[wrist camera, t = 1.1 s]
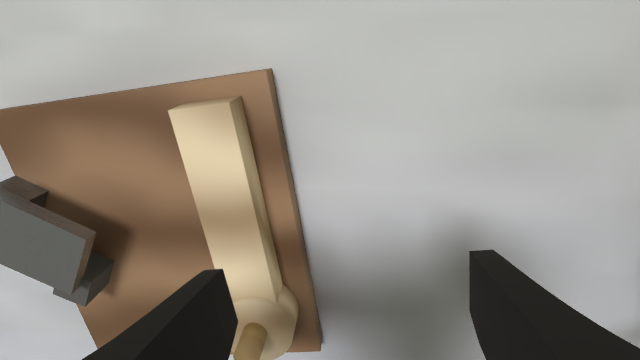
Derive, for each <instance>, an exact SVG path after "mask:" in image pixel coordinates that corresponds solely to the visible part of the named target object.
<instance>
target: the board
mask: <svg viewBox="0 0 640 360" xmlns="http://www.w3.org/2000/svg"><path fill="white" fill-rule="evenodd" d="M235 96H241V99H242V104H243V108H244V113H245V117H246V122H247V126H248V131H249V135H250V140H251V144H252V149H253V153H254V158H255V162H256V167H257V171H258V176H259V180H260V185H261V189H262V193H263V198H264V202H265V207H266V211H267V216H268V220H269V225H270V229H271V234H272V238H273V243H274V247H275V252H276V256H277V261H278V265H279V270H280V274H281V279H282V283H283V284H284V285H285V286H287V287H288V288H289V289H290V290H291V291H292V292H293V294H294V295H295V297H296V299H297V302H298V306H299V312H298V317H297V322H296V326H295V331H294V335H293V340H292V344H291V346H290V348H289V349H288V350H287V352H311V351H321V343H322V334H321V328H320V323H319V318H318V312H317V307H316V302H315V297H314V291H313V286H312V281H311V275H310V270H309V265H308V259H307V254H306V249H305V243H304V238H303V233H302V228H301V222H300V217H299V212H298V206H297V201H296V196H295V190H294V185H293V180H292V174H291V169H290V164H289V159H288V153H287V148H286V143H285V137H284V132H283V127H282V121H281V116H280V111H279V105H278V100H277V95H276V90H275V84H274V79H273V74H272V68H270V69H264V70H257V71H250V72H244V73H237V74H231V75H224V76H217V77H211V78H204V79H197V80H191V81H184V82H178V83H171V84H164V85H158V86H151V87H144V88H138V89H131V90H124V91H118V92H111V93H105V94H98V95H91V96H85V97H78V98H71V99H65V100H58V101H52V102H45V103H38V104H32V105H25V106H18V107H12V108H5V109H0V145H1V147H2V149H3V151H4V153H5V155H6V157H7V159H8V161H9V163H10V166H11V168H12V170H13V172H14V174H15V176H18V177H20V178H23V179H25V180H27V181H29V182H31V183H33V184H36V185H38V186H40V187H42V188H44V189H46V190H48V191H49V192H48V196H47V201H46V206H45V209H47V210H50V211H52V212H54V213H56V214H58V215H61V216H63V217H65V218H67V219H69V220H71V221H74V222H76V223H78V224H80V225H82V226H84V227H87V228H89V229H91V230H93V231H95V232H96V235H95V239H94V242H93V246H92V249H91V251H93V252H95V253H98V254H100V255H102V256H105V257H107V258H109V259H112V260H114V265H113V268H112V272H111V276H110V279H109V283H108V285H107V286H106V287H105V288H104V289H103V290H102V291H101V292H100V293H99V294H98V295H97V296H96V297H95V298H94V299H93V300H92V301H91V302H90V303H89V304H88V305H87V306H86V307H84V306H81V305H79V304H77V306H78V308H79V311H80V313H81V315H82V317H83V319H84V321H85V323H86V325H87V327H88V329H89V332H90V334H91V336H92V338H93V340H94V342H95V344H96V346H97V348H98V349H99V348H100V347H102V346H103V345H105V344H106V343H108V342H109V341H111V340H112V339H114V338H115V337H116V336H118V335H119V334H120V333H122V332H123V331H124V330H126V329H127V328H129V327H130V326H131V325H133V324H134V323H135V322H137V321H138V320H139V319H141V318H142V317H143V316H145V315H146V314H147V313H149V312H150V311H151V310H153V309H154V308H155V307H156V306H158V305H159V304H160V303H161V302H163V301H164V300H165V299H167V298H168V297H169V296H170V295H172V294H173V293H174V292H175V291H177V290H178V289H179V288H180V287H182V286H183V285H184V284H186V283H187V282H188V281H189V280H191V279H192V278H193V277H195V276H196V275H197V274H199V273H200V272H202V271H203V270H211V269H215V267H214V264H213V261H212V257H211V254H210V251H209V247H208V244H207V241H206V237H205V234H204V230H203V227H202V224H201V220H200V217H199V214H198V210H197V207H196V204H195V200H194V197H193V193H192V190H191V187H190V183H189V180H188V177H187V173H186V170H185V167H184V163H183V160H182V156H181V153H180V150H179V146H178V143H177V140H176V136H175V133H174V130H173V126H172V123H171V119H170V116H169V113H168V110H170V109H173V108H175V107H178V106H180V105H183V104H186V103H193V102H200V101H207V100H214V99H221V98H228V97H235ZM230 354H234V352H232V351H231V352H230Z"/></svg>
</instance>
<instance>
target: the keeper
mask: <svg viewBox="0 0 640 360" xmlns="http://www.w3.org/2000/svg"><path fill="white" fill-rule="evenodd" d="M48 192H49V191H48V190H46V189H44V188H42V187H40V186H38V185H36V184H33V183H31V182H29V181H27V180H25V179H23V178H20V177H18V176H14V177H11V178H9V179H6V180H4V181H2V182H0V264H2V265H4V266H6V267H9V268H11V269H13V270H15V271H18V272H20V273H22V274H24V275H27V276H29V277H31V278H34V279H36V280H38V281H40V282H43V283H45V284H47V285H49V286H52V287H54V288H56V289H58V290H61V291H63V292H65V293H67V294H70V295H72V294H73V293H74V292H75V291H76V290H77V289H78V288H79V287H80V286H81V285H82V281H83V278H84V274H85V271H86V267H87V264H88V260H89V256H90V253H91V249H92V246H93V242H94V239H95V235H96V232H95V231H93V230H91V229H89V228H87V227H84V226H82V225H80V224H78V223H76V222H74V221H71V220H69V219H67V218H65V217H63V216H61V215H58V214H56V213H54V212H52V211H50V210H47V209H45V206H46V201H47V196H48Z"/></svg>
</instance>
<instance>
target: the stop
mask: <svg viewBox="0 0 640 360" xmlns="http://www.w3.org/2000/svg"><path fill="white" fill-rule="evenodd" d="M113 265H114V260H112V259H109V258H107V257H105V256H102V255H100V254H98V253H95V252H93V251H91V253H90V256H89V260H88V264H87V267H86V271H85V274H84V278H83V281H82V285H81V286H80V287H79V288H78V289H77V290H76V291H75V292H74V293H73V294H72V295H70V294H67V293H65V292H63V291H61V290H58V289H56V288H54V290H53V294H55V295H57V296H59V297H62V298H64V299H67V300H69V301H71V302H74V303H76V304H79V305H81V306H84V307H86V306H87V305H88V304H89V303H90V302H91V301H92V300H93V299H94V298H95V297H96V296H97V295H98V294H99V293H100V292H101V291H102V290H103V289H104V288H105V287H106V286H107V285H108V283H109V279H110V276H111V272H112V268H113Z"/></svg>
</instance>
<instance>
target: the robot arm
mask: <svg viewBox="0 0 640 360" xmlns="http://www.w3.org/2000/svg"><path fill="white" fill-rule="evenodd" d="M470 313H471V317H472V320H473V324H474V327H475V330H476V334H477V337H478V340H479V343H480V346H481V348H482V351H483V353H484V356H485V358H486V360H640V348H638V347H636V346H634V345H632V344H631V343H629V342H627V341H625V340H624V339H622V338H620V337H618V336H616V335H615V334H613V333H611V332H610V331H608V330H606V329H605V328H603V327H601V326H600V325H598V324H596V323H595V322H593V321H592V320H590V319H588V318H587V317H585V316H584V315H582V314H581V313H579V312H578V311H576V310H575V309H573V308H571V307H570V306H568V305H567V304H566V303H564V302H563V301H561V300H560V299H558V298H557V297H555V296H554V295H553V294H551V293H550V292H548V291H547V290H545V289H544V288H543V287H541V286H540V285H539V284H537V283H536V282H535V281H533V280H532V279H531V278H529V277H528V276H527V275H525V274H524V273H523V272H521V271H520V270H519V269H517V268H516V267H515V266H514V265H512V264H511V263H510V262H508V261H507V260H506V259H504V258H503V257H502V256H501V255H499V254H498V253H497V252H495V251H494V250H482V251H470ZM237 325H238V318H237V315H236V312H235V308H234V305H233V301H232V298H231V295H230V291H229V288H228V285H227V281H226V278H225V274H224V271H223V269H211V270H203V271H202V272H200V273H199V274H197V275H196V276H195V277H193V278H192V279H191V280H189V281H188V282H187V283H186V284H184V285H183V286H182V287H180V288H179V289H178V290H177V291H175V292H174V293H173V294H172V295H170V296H169V297H168V298H167V299H165V300H164V301H163V302H161V303H160V304H159V305H158V306H156V307H155V308H154V309H153V310H151V311H150V312H149V313H147V314H146V315H145V316H143V317H142V318H141V319H139V320H138V321H137V322H135V323H134V324H133V325H131V326H130V327H129V328H127V329H126V330H124V331H123V332H122V333H120V334H119V335H118V336H116V337H115V338H114V339H112V340H111V341H109V342H108V343H106V344H105V345H103V346H102V347H100V348H99V349H98V350H96V351H95V352H93V353H91V354H90V355H88V356H87V357H85V358H84V359H82V360H228V358H229V355H230V352H231V349H232V345H233V341H234V338H235V333H236V329H237Z"/></svg>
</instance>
